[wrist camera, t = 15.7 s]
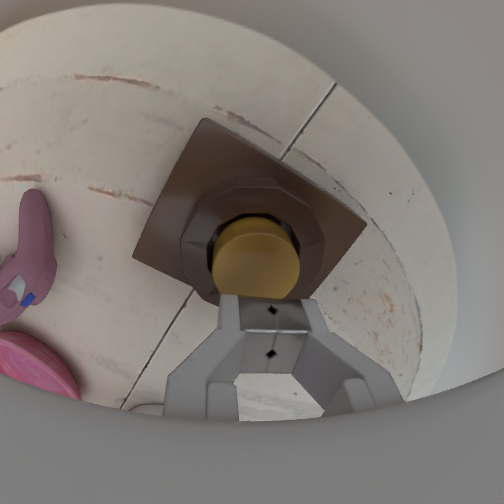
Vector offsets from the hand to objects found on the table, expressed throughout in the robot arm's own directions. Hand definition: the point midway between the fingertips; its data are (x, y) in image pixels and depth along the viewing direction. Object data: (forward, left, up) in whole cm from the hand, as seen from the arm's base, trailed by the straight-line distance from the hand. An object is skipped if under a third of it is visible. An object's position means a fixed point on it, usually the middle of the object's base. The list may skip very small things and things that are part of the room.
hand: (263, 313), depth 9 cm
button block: (0, 0, -8) cm, 8 cm away
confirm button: (0, 0, -4) cm, 5 cm away
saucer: (+20, +17, -8) cm, 28 cm away
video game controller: (+16, +3, -8) cm, 18 cm away
